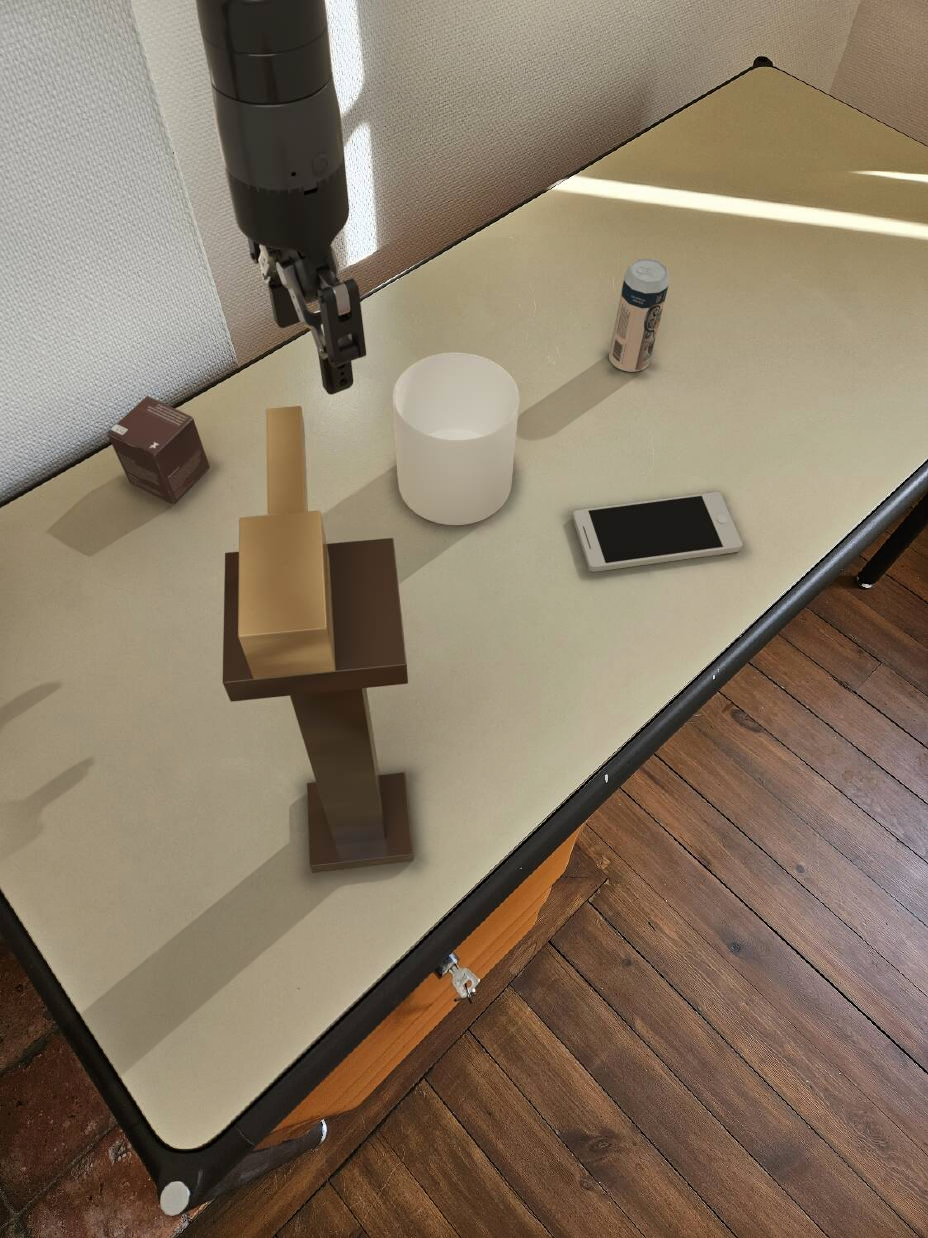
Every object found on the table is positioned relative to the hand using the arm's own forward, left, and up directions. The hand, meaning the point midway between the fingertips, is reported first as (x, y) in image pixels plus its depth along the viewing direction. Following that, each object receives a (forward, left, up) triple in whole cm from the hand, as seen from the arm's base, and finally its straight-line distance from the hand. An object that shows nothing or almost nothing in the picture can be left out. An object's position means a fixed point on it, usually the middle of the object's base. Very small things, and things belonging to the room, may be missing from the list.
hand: (313, 354), depth 70 cm
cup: (+12, +6, -23) cm, 27 cm away
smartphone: (+31, -3, -23) cm, 39 cm away
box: (-17, +10, -23) cm, 30 cm away
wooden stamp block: (-1, -25, +9) cm, 27 cm away
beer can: (+34, +22, -23) cm, 47 cm away
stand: (0, -30, -23) cm, 37 cm away
